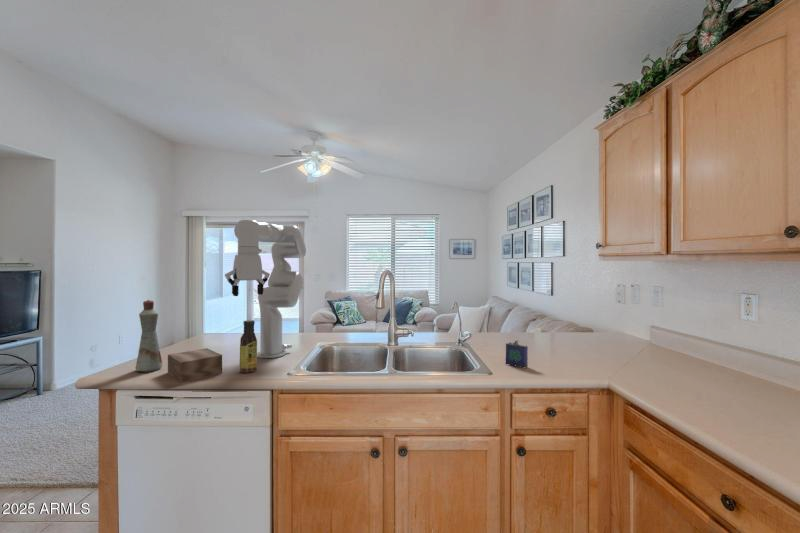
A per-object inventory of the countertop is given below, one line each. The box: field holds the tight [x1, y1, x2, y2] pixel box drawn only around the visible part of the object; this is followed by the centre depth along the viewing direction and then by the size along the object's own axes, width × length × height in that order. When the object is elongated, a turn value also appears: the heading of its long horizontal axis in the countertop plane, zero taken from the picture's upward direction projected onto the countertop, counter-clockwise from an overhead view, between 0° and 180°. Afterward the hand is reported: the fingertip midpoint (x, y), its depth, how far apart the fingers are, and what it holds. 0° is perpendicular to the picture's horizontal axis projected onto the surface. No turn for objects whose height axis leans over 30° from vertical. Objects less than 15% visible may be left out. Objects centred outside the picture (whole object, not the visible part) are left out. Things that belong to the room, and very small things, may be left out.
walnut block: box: [167, 347, 223, 383], centre depth 135 cm, size 14×16×7 cm
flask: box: [505, 339, 529, 368], centre depth 146 cm, size 9×3×11 cm, turn 50°
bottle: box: [135, 299, 163, 373], centre depth 139 cm, size 9×9×28 cm
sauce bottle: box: [239, 319, 258, 374], centre depth 137 cm, size 6×6×20 cm
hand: (248, 295), depth 137 cm, fingers open, 9 cm apart
